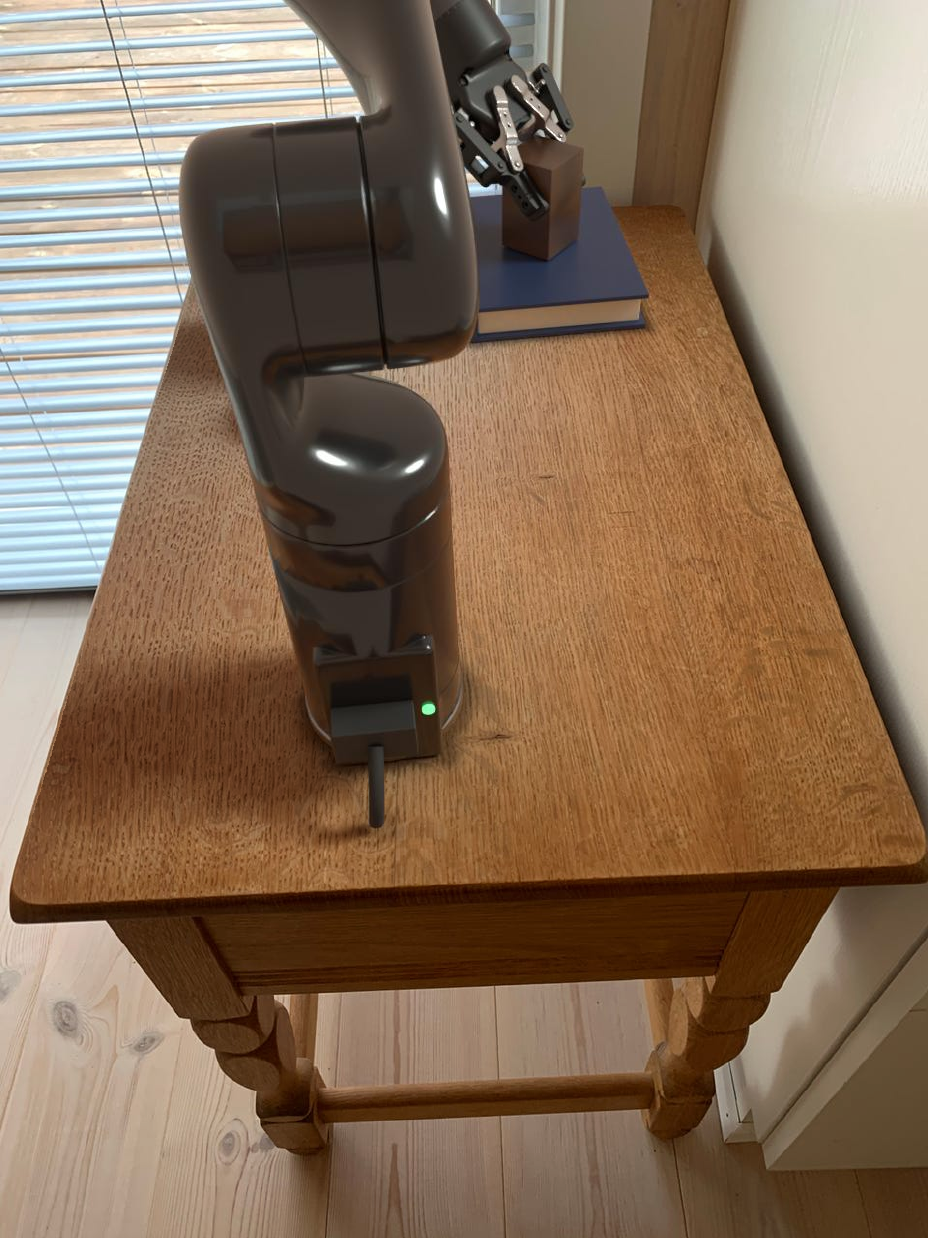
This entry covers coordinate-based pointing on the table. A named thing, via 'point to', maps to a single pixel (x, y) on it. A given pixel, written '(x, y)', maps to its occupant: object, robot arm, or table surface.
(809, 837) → the table surface
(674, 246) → the table surface
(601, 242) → the book
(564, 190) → the walnut block
